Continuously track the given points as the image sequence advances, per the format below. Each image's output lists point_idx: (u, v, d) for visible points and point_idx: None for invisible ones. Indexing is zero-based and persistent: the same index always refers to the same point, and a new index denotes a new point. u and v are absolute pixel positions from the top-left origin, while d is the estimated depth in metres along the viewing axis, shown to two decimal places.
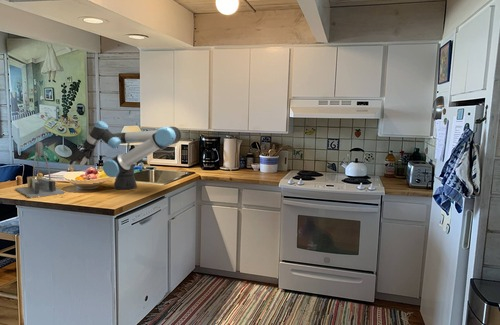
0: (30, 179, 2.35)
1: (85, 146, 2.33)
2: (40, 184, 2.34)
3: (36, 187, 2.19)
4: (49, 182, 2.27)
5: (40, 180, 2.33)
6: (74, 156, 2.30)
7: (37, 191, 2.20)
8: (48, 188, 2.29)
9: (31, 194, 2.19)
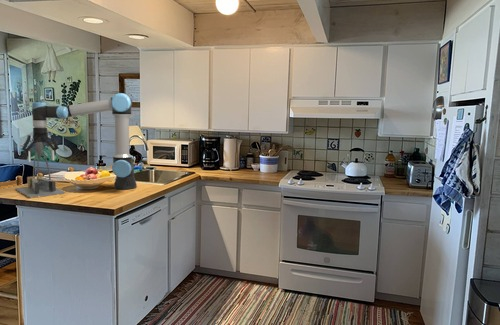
0: (30, 179, 2.35)
1: (33, 132, 2.20)
2: (40, 184, 2.34)
3: (36, 187, 2.19)
4: (49, 182, 2.27)
5: (40, 180, 2.33)
6: (24, 145, 2.17)
7: (37, 191, 2.20)
8: (48, 188, 2.29)
9: (31, 194, 2.19)
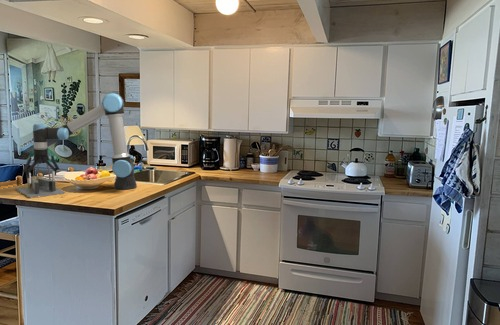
0: None
1: (34, 154, 2.22)
2: (40, 184, 2.34)
3: (36, 187, 2.19)
4: (49, 182, 2.27)
5: (40, 180, 2.33)
6: (25, 167, 2.19)
7: (37, 191, 2.20)
8: (48, 188, 2.29)
9: (31, 194, 2.19)
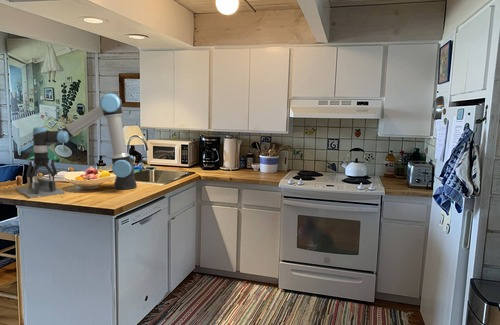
0: None
1: None
2: (40, 184, 2.34)
3: (36, 187, 2.19)
4: (49, 182, 2.27)
5: (40, 180, 2.33)
6: (27, 172, 2.20)
7: (37, 191, 2.20)
8: (48, 188, 2.29)
9: (31, 194, 2.19)
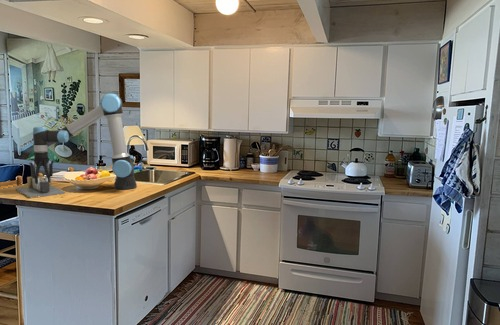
0: (30, 179, 2.35)
1: None
2: None
3: (43, 186, 2.22)
4: None
5: None
6: (31, 173, 2.21)
7: (44, 190, 2.22)
8: None
9: (31, 194, 2.19)
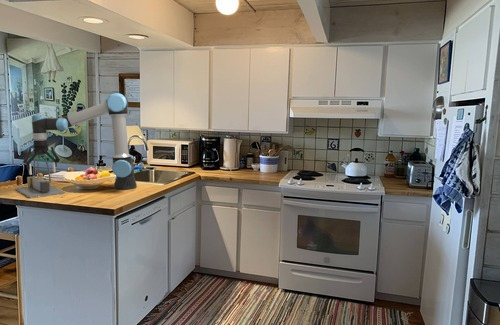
0: (30, 179, 2.35)
1: (34, 145, 2.21)
2: None
3: (43, 186, 2.22)
4: None
5: None
6: (25, 158, 2.18)
7: (44, 190, 2.22)
8: None
9: (31, 194, 2.19)
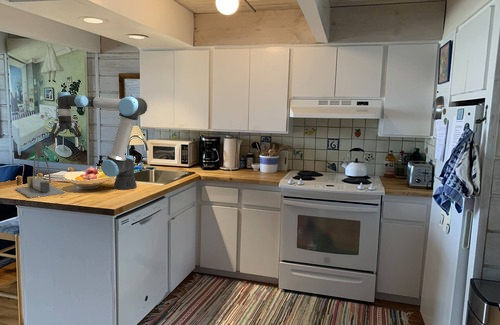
0: (30, 179, 2.35)
1: (59, 120, 2.36)
2: None
3: (43, 186, 2.22)
4: None
5: None
6: (51, 132, 2.33)
7: (44, 190, 2.22)
8: None
9: (31, 194, 2.19)
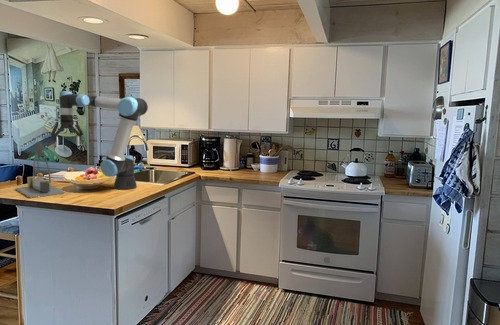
0: (30, 179, 2.35)
1: (60, 119, 2.38)
2: None
3: (43, 186, 2.22)
4: None
5: None
6: (52, 131, 2.35)
7: (44, 190, 2.22)
8: None
9: (31, 194, 2.19)
